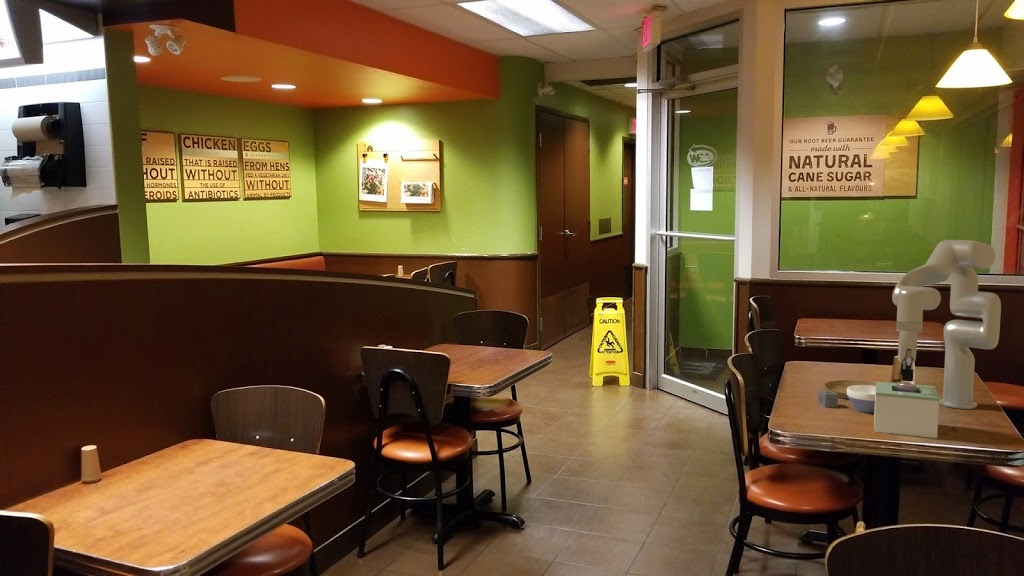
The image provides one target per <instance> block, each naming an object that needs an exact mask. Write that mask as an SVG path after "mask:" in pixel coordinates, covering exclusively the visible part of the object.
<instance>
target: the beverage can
mask: <svg viewBox="0 0 1024 576" xmlns="http://www.w3.org/2000/svg"><path fill="white" fill-rule="evenodd" d="M896 383H897V385H896V391H900V392H911V393H916V385H917V384H916V383H915V382H913V381H912V382H911V381H897V382H896Z"/></svg>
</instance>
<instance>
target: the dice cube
mask: <svg viewBox="0 0 1024 576" xmlns="http://www.w3.org/2000/svg"><path fill="white" fill-rule="evenodd" d="M838 404H839V397H838V393H835V392H833V391H827V390H817V405H818V406H821V407H822V408H838V406H839V405H838Z"/></svg>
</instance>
